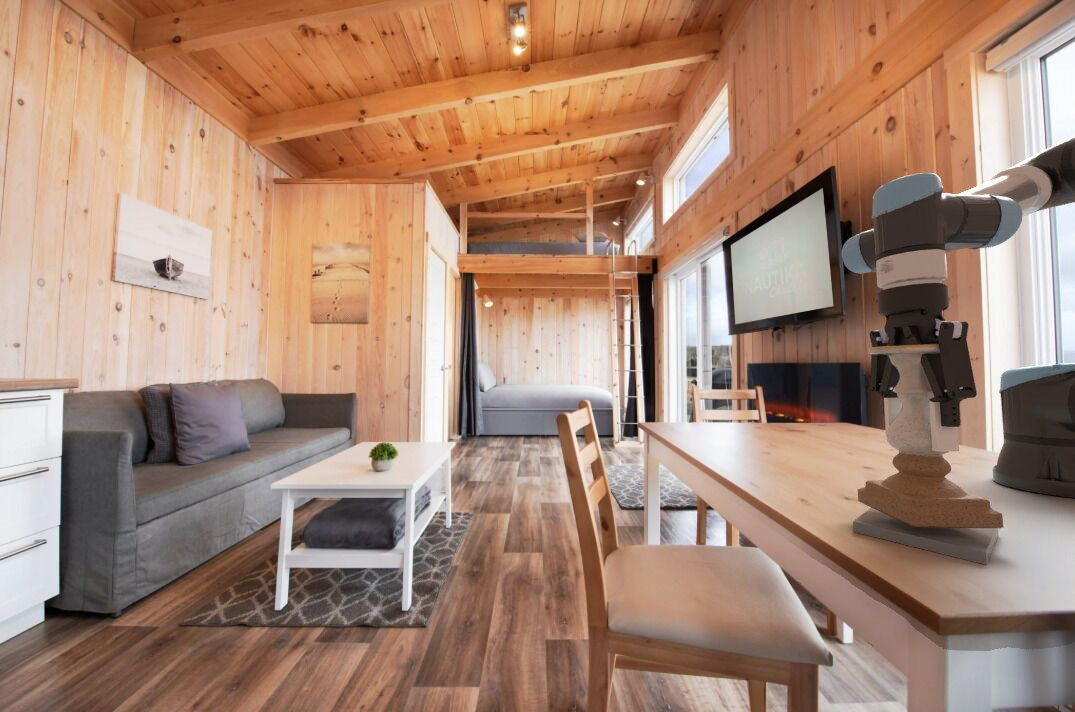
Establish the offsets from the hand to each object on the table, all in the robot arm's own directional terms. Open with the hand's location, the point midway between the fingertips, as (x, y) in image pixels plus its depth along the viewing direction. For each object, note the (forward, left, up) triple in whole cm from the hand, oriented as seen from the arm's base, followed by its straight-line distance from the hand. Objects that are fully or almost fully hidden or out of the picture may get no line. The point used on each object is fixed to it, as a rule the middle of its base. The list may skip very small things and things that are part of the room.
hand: (919, 445), depth 58 cm
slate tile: (0, 0, -12) cm, 12 cm away
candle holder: (0, 0, -10) cm, 10 cm away
